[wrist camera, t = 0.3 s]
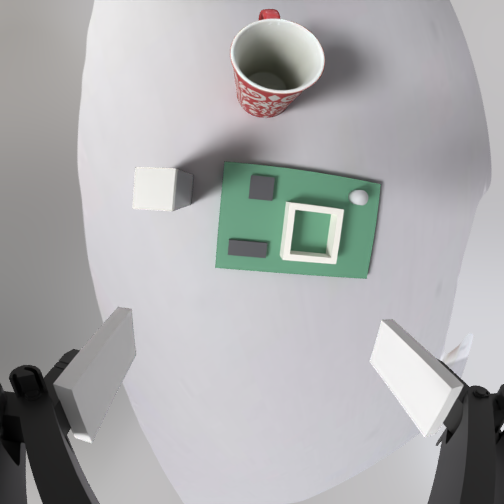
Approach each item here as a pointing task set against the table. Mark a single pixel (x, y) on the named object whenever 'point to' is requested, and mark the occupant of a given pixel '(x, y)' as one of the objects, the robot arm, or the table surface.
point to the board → (295, 221)
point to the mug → (274, 63)
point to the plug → (161, 189)
